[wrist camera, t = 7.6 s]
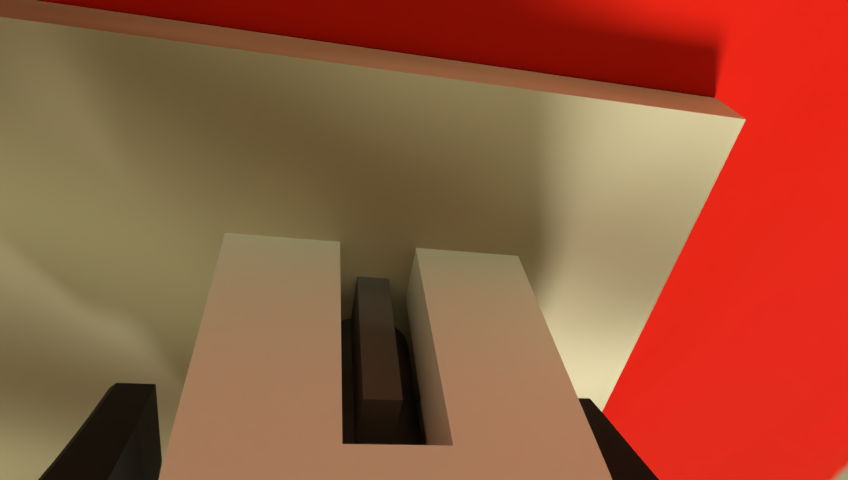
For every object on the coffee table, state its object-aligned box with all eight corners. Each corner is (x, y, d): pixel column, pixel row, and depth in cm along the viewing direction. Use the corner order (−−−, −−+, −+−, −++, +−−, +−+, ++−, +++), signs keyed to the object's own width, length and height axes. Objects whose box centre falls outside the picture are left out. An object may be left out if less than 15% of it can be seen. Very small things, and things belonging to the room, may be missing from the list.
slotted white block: (459, 439, 15) (509, 685, 10) (224, 435, 14) (176, 707, 9) (518, 255, 12) (619, 494, 8) (225, 232, 11) (154, 495, 7)
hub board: (505, 562, 20) (543, 729, 16) (-310, 580, 16) (-509, 813, 12) (716, 98, 12) (897, 229, 8) (-946, -141, 7) (-2300, -102, 3)
